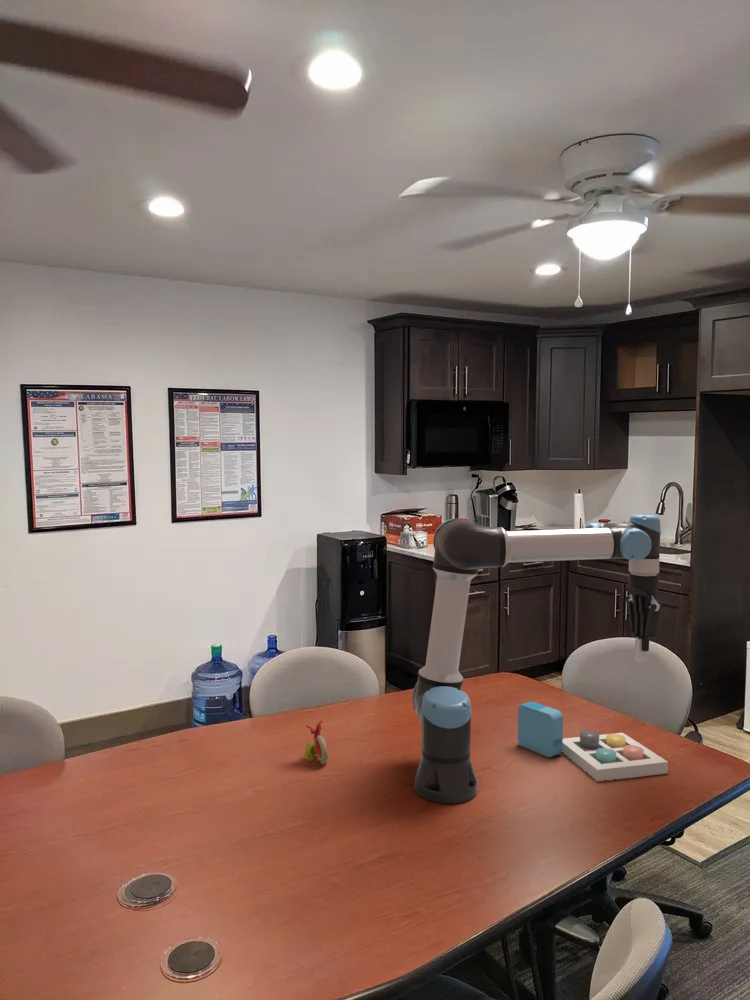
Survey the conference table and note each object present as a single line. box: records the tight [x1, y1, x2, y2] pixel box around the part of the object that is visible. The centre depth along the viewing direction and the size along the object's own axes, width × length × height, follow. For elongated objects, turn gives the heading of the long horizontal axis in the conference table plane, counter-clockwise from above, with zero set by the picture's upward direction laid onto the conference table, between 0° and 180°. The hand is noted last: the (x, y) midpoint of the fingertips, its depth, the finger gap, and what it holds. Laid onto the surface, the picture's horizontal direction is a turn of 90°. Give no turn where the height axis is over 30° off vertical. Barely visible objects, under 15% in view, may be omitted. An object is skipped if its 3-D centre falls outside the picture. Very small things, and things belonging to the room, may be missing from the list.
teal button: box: [596, 748, 616, 764], centre depth 183 cm, size 5×5×3 cm
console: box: [562, 732, 669, 782], centre depth 188 cm, size 20×20×3 cm
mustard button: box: [606, 733, 626, 748], centre depth 193 cm, size 5×5×3 cm
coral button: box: [623, 745, 644, 761], centre depth 185 cm, size 5×5×3 cm
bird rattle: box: [303, 719, 329, 766], centre depth 187 cm, size 6×11×9 cm
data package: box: [517, 701, 564, 758], centre depth 195 cm, size 12×4×12 cm, turn 38°
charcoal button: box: [579, 729, 600, 749], centre depth 191 cm, size 5×5×3 cm
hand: (641, 662), depth 187 cm, fingers closed
